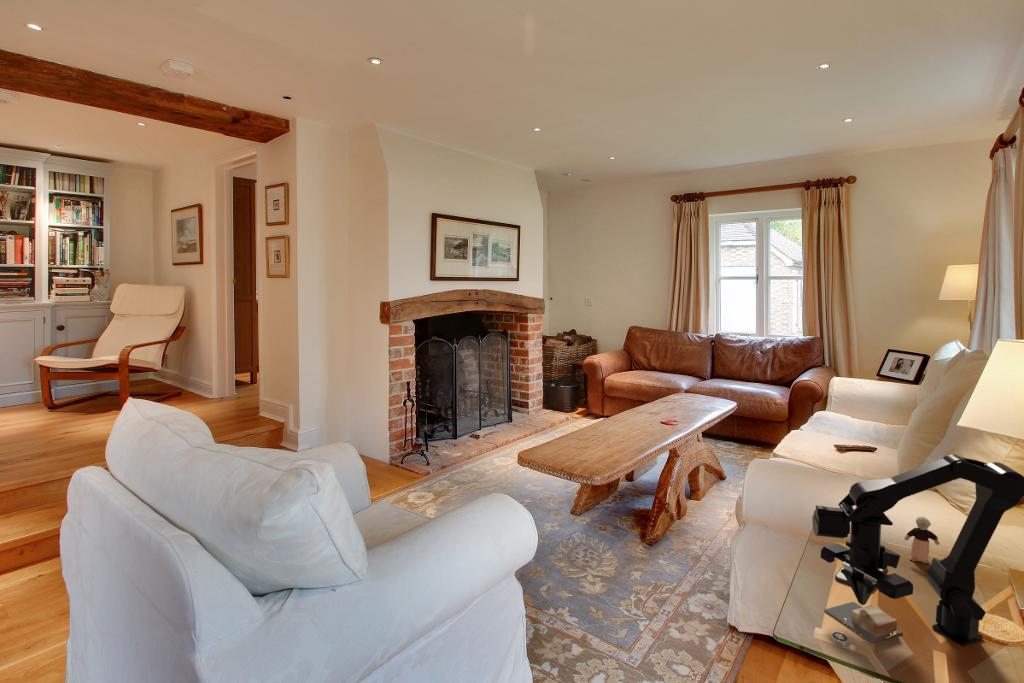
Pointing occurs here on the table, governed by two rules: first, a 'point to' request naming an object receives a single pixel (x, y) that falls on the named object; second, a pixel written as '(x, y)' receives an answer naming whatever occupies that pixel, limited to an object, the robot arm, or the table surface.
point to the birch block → (874, 620)
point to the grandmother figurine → (921, 540)
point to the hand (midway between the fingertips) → (862, 604)
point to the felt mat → (846, 612)
